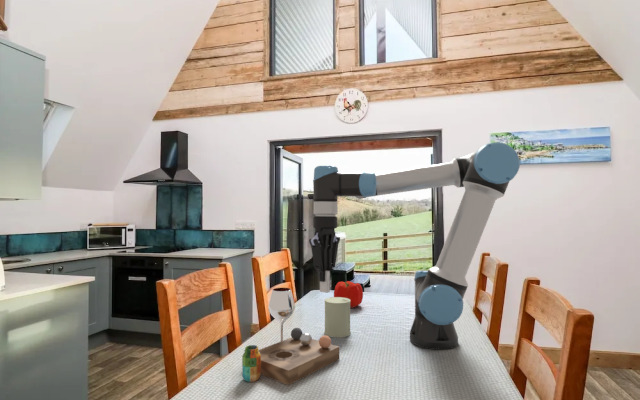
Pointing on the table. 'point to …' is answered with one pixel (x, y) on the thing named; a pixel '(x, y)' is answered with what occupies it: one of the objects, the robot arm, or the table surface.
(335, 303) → the can
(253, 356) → the jar
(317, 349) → the wooden block with hole
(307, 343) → the steel ball
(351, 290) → the red bell pepper
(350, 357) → the table surface
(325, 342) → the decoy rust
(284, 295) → the wineglass
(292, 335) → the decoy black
